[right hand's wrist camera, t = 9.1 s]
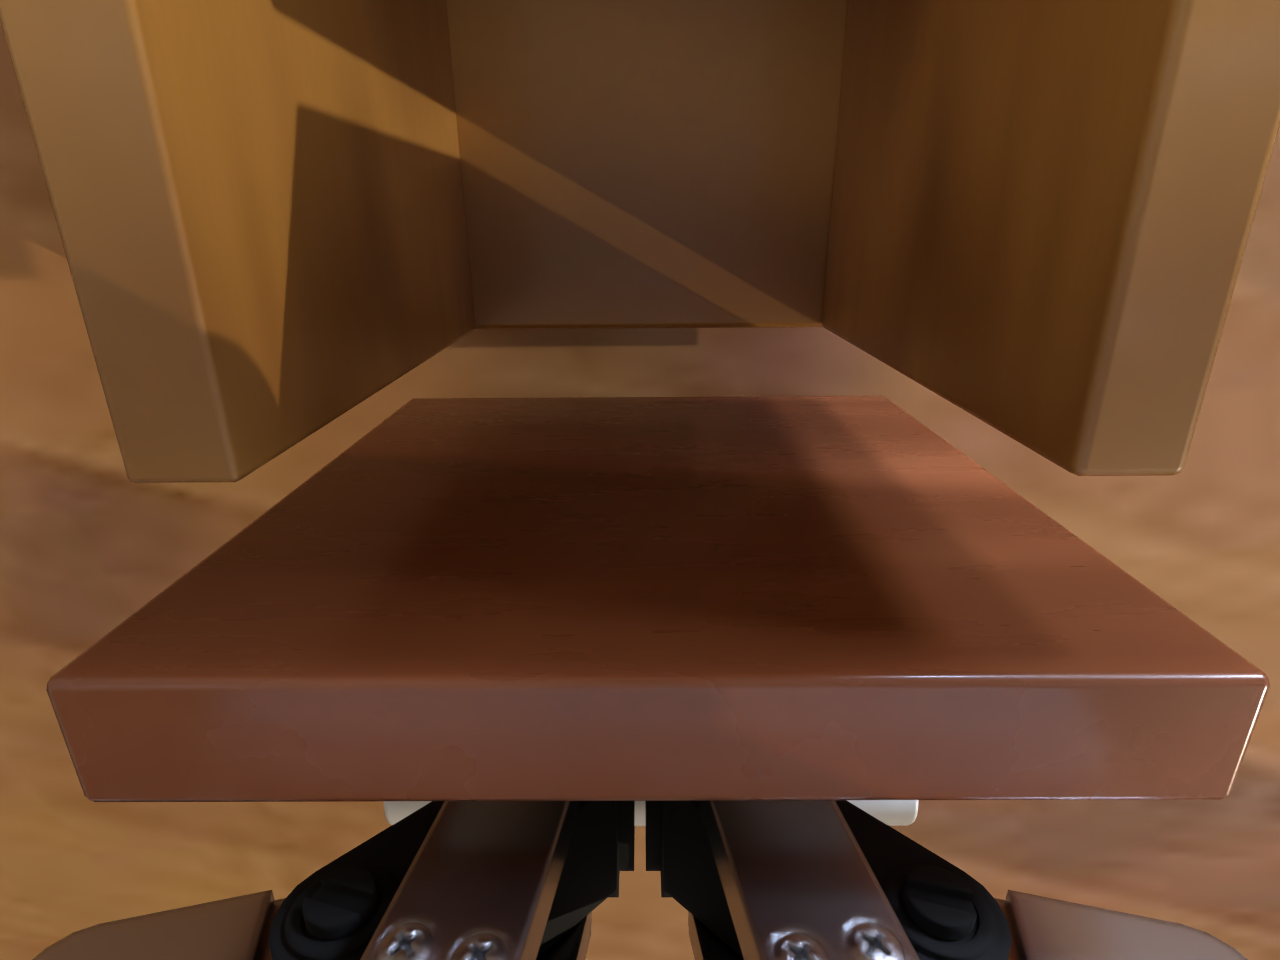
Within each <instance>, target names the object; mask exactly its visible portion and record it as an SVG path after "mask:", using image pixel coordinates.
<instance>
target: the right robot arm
mask: <svg viewBox="0 0 1280 960" xmlns="http://www.w3.org/2000/svg"><path fill="white" fill-rule="evenodd" d="M645 815H646V871H661V896H662V897H673V898H674V899H675V900H676V901H677V902H679V903H680V904H681V905H682V906H683V907H684V908H685V909H687V910H688V924H689V936H690V940H691V944H692V949H693V953H694V958H695V960H1247V959H1246V958H1245V957H1244V956H1243V955H1242V954H1240V953H1239V952H1238V951H1237V950H1236V949H1234V948H1233V947H1231V946H1229V945H1228V944H1226V943H1224V942H1222V941H1221V940H1219V939H1217V938H1215V937H1214V936H1212V935H1210V934H1208V933H1206V932H1203V931H1200V930H1197V929H1194V928H1191V927H1188V926H1185V925H1182V924H1178V923H1173V922H1168V921H1163V920H1158V919H1153V918H1148V917H1143V916H1138V915H1133V914H1128V913H1123V912H1118V911H1112V910H1107V909H1102V908H1097V907H1092V906H1087V905H1082V904H1077V903H1072V902H1067V901H1062V900H1057V899H1052V898H1047V897H1042V896H1037V895H1032V894H1026V893H1021V892H1016V891H1011V890H1008V892H1007V896H1006V900H1001V899H996V898H993V897H992V895H991V894H990V893H989V892H988V891H987V890H986V889H985V888H984V886H983V885H981V884H980V883H979V882H977V881H976V880H975V879H973V878H972V877H971V876H969V875H968V874H967V873H965V872H964V871H962V870H961V869H959V868H957V867H956V866H954V865H952V864H951V863H949V862H947V861H946V860H944V859H942V858H941V857H939V856H937V855H936V854H934V853H933V852H931V851H929V850H928V849H926V848H924V847H923V846H921V845H919V844H918V843H916V842H914V841H913V840H911V839H909V838H908V837H906V836H904V835H903V834H901V833H900V832H898V831H896V830H895V829H893V828H891V827H890V826H888V825H886V824H885V823H883V822H881V821H880V820H878V819H876V818H875V817H873V816H871V815H870V814H868V813H867V812H865V811H863V810H862V809H860V808H858V807H857V806H855V805H853V804H852V803H850V802H848V801H847V800H708V801H645ZM634 820H635V801H432V802H430V803H428V804H427V805H425V806H423V807H422V808H420V809H418V810H417V811H415V812H414V813H412V814H410V815H409V816H407V817H405V818H404V819H402V820H400V821H399V822H397V823H395V824H394V825H392V826H390V827H389V828H387V829H385V830H384V831H382V832H381V833H379V834H377V835H376V836H374V837H372V838H371V839H369V840H367V841H366V842H364V843H362V844H361V845H359V846H357V847H356V848H354V849H352V850H351V851H349V852H348V853H346V854H344V855H343V856H341V857H339V858H338V859H336V860H334V861H333V862H331V863H329V864H328V865H326V866H324V867H323V868H321V869H319V870H318V871H316V872H315V873H313V874H312V875H311V876H309V877H308V878H307V879H305V880H304V881H303V882H301V883H300V884H299V885H297V886H296V888H295V889H294V890H293V891H292V892H291V893H290V894H289V896H288V897H287V898H284V899H279V900H274V896H273V892H272V890H269V891H264V892H259V893H254V894H249V895H243V896H238V897H233V898H228V899H223V900H218V901H213V902H208V903H203V904H198V905H193V906H188V907H183V908H178V909H173V910H168V911H162V912H157V913H152V914H147V915H142V916H137V917H132V918H127V919H122V920H117V921H112V922H107V923H102V924H98V925H95V926H92V927H89V928H86V929H83V930H80V931H77V932H74V933H72V934H70V935H68V936H66V937H65V938H63V939H61V940H59V941H58V942H56V943H54V944H52V945H51V946H49V947H47V948H46V949H44V950H43V951H42V952H41V953H40V954H39V955H37V956H36V957H35V958H34V959H33V960H585V958H586V953H587V949H588V944H589V940H590V936H591V924H592V910H593V909H595V908H596V907H597V906H598V905H599V904H600V903H602V902H603V901H604V900H605V899H606V898H607V897H619V871H634Z"/></svg>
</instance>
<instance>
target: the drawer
mask: <svg viewBox="0 0 1280 960" xmlns="http://www.w3.org/2000/svg"><path fill="white" fill-rule="evenodd" d="M0 19H1V23H2V27H3V30H4V34H5V37H6V41H7V45H8V48H9V52H10V55H11V59H12V63H13V66H14V70H15V73H16V77H17V81H18V84H19V88H20V91H21V95H22V99H23V102H24V106H25V109H26V113H27V117H28V120H29V124H30V127H31V131H32V134H33V138H34V142H35V145H36V149H37V152H38V156H39V160H40V163H41V167H42V170H43V174H44V178H45V181H46V185H47V188H48V192H49V196H50V199H51V203H52V206H53V210H54V214H55V217H56V221H57V224H58V228H59V232H60V235H61V239H62V242H63V246H64V249H65V253H66V257H67V260H68V264H69V267H70V271H71V275H72V278H73V282H74V285H75V289H76V293H77V296H78V300H79V303H80V307H81V311H82V314H83V318H84V321H85V325H86V329H87V332H88V336H89V339H90V343H91V347H92V350H93V354H94V357H95V361H96V365H97V368H98V372H99V375H100V379H101V382H102V386H103V390H104V393H105V397H106V400H107V404H108V408H109V411H110V415H111V418H112V422H113V426H114V429H115V433H116V436H117V440H118V444H119V447H120V451H121V454H122V458H123V462H124V465H125V469H126V472H127V476H128V478H129V479H130V481H132V482H138V483H150V482H236V481H239V480H240V479H242V478H244V477H245V476H247V475H248V474H250V473H251V472H253V471H254V470H256V469H258V468H259V467H261V466H262V465H264V464H265V463H267V462H269V461H270V460H272V459H273V458H275V457H276V456H278V455H279V454H281V453H283V452H284V451H286V450H287V449H289V448H290V447H292V446H293V445H295V444H297V443H298V442H300V441H301V440H303V439H304V438H306V437H307V436H309V435H311V434H312V433H314V432H315V431H317V430H318V429H320V428H321V427H323V426H325V425H326V424H328V423H329V422H331V421H332V420H334V419H335V418H337V417H339V416H340V415H342V414H343V413H345V412H346V411H348V410H349V409H351V408H353V407H354V406H356V405H357V404H359V403H360V402H362V401H363V400H365V399H367V398H368V397H370V396H371V395H373V394H374V393H376V392H378V391H379V390H381V389H382V388H384V387H385V386H387V385H388V384H390V383H392V382H393V381H395V380H396V379H398V378H399V377H401V376H402V375H404V374H406V373H407V372H409V371H410V370H412V369H413V368H415V367H416V366H418V365H420V364H421V363H423V362H424V361H426V360H427V359H429V358H430V357H432V356H434V355H435V354H437V353H438V352H440V351H441V350H443V349H444V348H446V347H448V346H449V345H451V344H452V343H454V342H455V341H457V340H458V339H460V338H462V337H463V336H465V335H466V334H468V333H469V332H471V331H472V330H474V329H584V328H736V327H824V328H826V329H828V330H829V331H831V332H833V333H834V334H836V335H838V336H839V337H841V338H843V339H845V340H846V341H848V342H850V343H851V344H853V345H855V346H856V347H858V348H860V349H862V350H863V351H865V352H867V353H868V354H870V355H872V356H873V357H875V358H877V359H879V360H880V361H882V362H884V363H885V364H887V365H889V366H890V367H892V368H894V369H896V370H897V371H899V372H901V373H902V374H904V375H906V376H907V377H909V378H911V379H913V380H914V381H916V382H918V383H919V384H921V385H923V386H924V387H926V388H928V389H930V390H931V391H933V392H935V393H936V394H938V395H940V396H941V397H943V398H945V399H947V400H948V401H950V402H952V403H953V404H955V405H957V406H958V407H960V408H962V409H964V410H965V411H967V412H969V413H970V414H972V415H974V416H975V417H977V418H979V419H981V420H982V421H984V422H986V423H987V424H989V425H991V426H992V427H994V428H996V429H998V430H999V431H1001V432H1003V433H1004V434H1006V435H1008V436H1009V437H1011V438H1013V439H1014V440H1016V441H1018V442H1020V443H1021V444H1023V445H1025V446H1026V447H1028V448H1030V449H1031V450H1033V451H1035V452H1037V453H1038V454H1040V455H1042V456H1043V457H1045V458H1047V459H1048V460H1050V461H1052V462H1054V463H1055V464H1057V465H1059V466H1060V467H1062V468H1064V469H1065V470H1067V471H1069V472H1071V473H1073V474H1075V475H1078V476H1160V475H1175V474H1178V473H1180V472H1181V470H1182V469H1183V468H1184V466H1185V463H1186V459H1187V456H1188V452H1189V448H1190V445H1191V441H1192V438H1193V434H1194V430H1195V427H1196V423H1197V420H1198V416H1199V412H1200V409H1201V405H1202V402H1203V398H1204V395H1205V391H1206V387H1207V384H1208V380H1209V377H1210V373H1211V369H1212V366H1213V362H1214V359H1215V355H1216V351H1217V348H1218V344H1219V341H1220V337H1221V334H1222V330H1223V326H1224V323H1225V319H1226V316H1227V312H1228V308H1229V305H1230V301H1231V298H1232V294H1233V290H1234V287H1235V283H1236V280H1237V276H1238V272H1239V269H1240V265H1241V262H1242V258H1243V255H1244V251H1245V247H1246V244H1247V240H1248V237H1249V233H1250V229H1251V226H1252V222H1253V219H1254V215H1255V211H1256V208H1257V204H1258V201H1259V197H1260V194H1261V190H1262V186H1263V183H1264V179H1265V176H1266V172H1267V168H1268V165H1269V161H1270V158H1271V154H1272V150H1273V147H1274V143H1275V140H1276V136H1277V133H1278V129H1279V125H1280V0H0ZM1269 687H1270V684H1269V678H1268V677H1267V676H1266V674H1265V673H1264V672H1262V671H1261V670H1260V669H1258V668H1257V667H1255V666H1254V665H1253V664H1251V663H1250V662H1249V661H1247V660H1246V659H1244V658H1243V657H1242V656H1240V655H1239V654H1238V653H1236V652H1235V651H1233V650H1232V649H1231V648H1229V647H1228V646H1227V645H1225V644H1224V643H1222V642H1221V641H1220V640H1218V639H1217V638H1216V637H1214V636H1213V635H1211V634H1210V633H1209V632H1207V631H1206V630H1205V629H1203V628H1202V627H1200V626H1199V625H1198V624H1196V623H1195V622H1194V621H1192V620H1191V619H1189V618H1188V617H1187V616H1185V615H1184V614H1183V613H1181V612H1180V611H1178V610H1177V609H1176V608H1174V607H1173V606H1172V605H1170V604H1169V603H1167V602H1166V601H1165V600H1163V599H1162V598H1161V597H1159V596H1158V595H1156V594H1155V593H1154V592H1152V591H1151V590H1150V589H1148V588H1147V587H1145V586H1144V585H1143V584H1141V583H1140V582H1139V581H1137V580H1136V579H1134V578H1133V577H1132V576H1130V575H1129V574H1128V573H1126V572H1125V571H1123V570H1122V569H1121V568H1119V567H1118V566H1117V565H1115V564H1114V563H1112V562H1111V561H1110V560H1108V559H1107V558H1106V557H1104V556H1103V555H1101V554H1100V553H1099V552H1097V551H1096V550H1095V549H1093V548H1092V547H1090V546H1089V545H1088V544H1086V543H1085V542H1084V541H1082V540H1081V539H1079V538H1078V537H1077V536H1075V535H1074V534H1073V533H1071V532H1070V531H1068V530H1067V529H1066V528H1064V527H1063V526H1062V525H1060V524H1059V523H1058V522H1056V521H1055V520H1053V519H1052V518H1051V517H1049V516H1048V515H1047V514H1045V513H1044V512H1042V511H1041V510H1040V509H1038V508H1037V507H1036V506H1034V505H1033V504H1031V503H1030V502H1029V501H1027V500H1026V499H1025V498H1023V497H1022V496H1020V495H1019V494H1018V493H1016V492H1015V491H1014V490H1012V489H1011V488H1009V487H1008V486H1007V485H1005V484H1004V483H1003V482H1001V481H1000V480H998V479H997V478H996V477H994V476H993V475H992V474H990V473H989V472H987V471H986V470H985V469H983V468H982V467H981V466H979V465H978V464H976V463H975V462H974V461H972V460H971V459H970V458H968V457H967V456H965V455H964V454H963V453H961V452H960V451H959V450H957V449H956V448H954V447H953V446H952V445H950V444H949V443H948V442H946V441H945V440H943V439H942V438H941V437H939V436H938V435H937V434H935V433H934V432H932V431H931V430H930V429H928V428H927V427H926V426H924V425H923V424H921V423H920V422H919V421H917V420H916V419H915V418H913V417H912V416H910V415H909V414H908V413H906V412H905V411H904V410H902V409H901V408H899V407H898V406H897V405H895V404H894V403H893V402H891V401H890V400H888V399H887V398H886V397H884V396H787V397H620V398H452V399H412V400H410V401H409V402H408V403H406V404H405V405H404V406H403V407H401V408H400V409H399V410H397V411H396V412H395V413H393V414H392V415H391V416H390V417H388V418H387V419H386V420H384V421H383V422H382V423H380V424H379V425H378V426H377V427H375V428H374V429H373V430H371V431H370V432H369V433H368V434H366V435H365V436H364V437H362V438H361V439H360V440H358V441H357V442H356V443H355V444H353V445H352V446H351V447H349V448H348V449H347V450H345V451H344V452H343V453H342V454H340V455H339V456H338V457H336V458H335V459H334V460H333V461H331V462H330V463H329V464H327V465H326V466H325V467H323V468H322V469H321V470H320V471H318V472H317V473H316V474H314V475H313V476H312V477H310V478H309V479H308V480H307V481H305V482H304V483H303V484H301V485H300V486H299V487H298V488H296V489H295V490H294V491H292V492H291V493H290V494H288V495H287V496H286V497H285V498H283V499H282V500H281V501H279V502H278V503H277V504H275V505H274V506H273V507H272V508H270V509H269V510H268V511H266V512H265V513H264V514H263V515H261V516H260V517H259V518H257V519H256V520H255V521H253V522H252V523H251V524H250V525H248V526H247V527H246V528H244V529H243V530H242V531H240V532H239V533H238V534H237V535H235V536H234V537H233V538H231V539H230V540H229V541H228V542H226V543H225V544H224V545H222V546H221V547H220V548H218V549H217V550H216V551H215V552H213V553H212V554H211V555H209V556H208V557H207V558H205V559H204V560H203V561H202V562H200V563H199V564H198V565H196V566H195V567H194V568H193V569H191V570H190V571H189V572H187V573H186V574H185V575H183V576H182V577H181V578H180V579H178V580H177V581H176V582H174V583H173V584H172V585H170V586H169V587H168V588H167V589H165V590H164V591H163V592H161V593H160V594H159V595H158V596H156V597H155V598H154V599H152V600H151V601H150V602H148V603H147V604H146V605H145V606H143V607H142V608H141V609H139V610H138V611H137V612H135V613H134V614H133V615H132V616H130V617H129V618H128V619H126V620H125V621H124V622H123V623H121V624H120V625H119V626H117V627H116V628H115V629H113V630H112V631H111V632H110V633H108V634H107V635H106V636H104V637H103V638H102V639H100V640H99V641H98V642H97V643H95V644H94V645H93V646H91V647H90V648H89V649H88V650H86V651H85V652H84V653H82V654H81V655H80V656H78V657H77V658H76V659H75V660H73V661H72V662H71V663H69V664H68V665H67V666H65V667H64V668H63V669H62V670H60V671H59V672H58V673H56V674H55V675H54V676H53V677H51V678H50V680H49V681H48V683H47V693H48V695H49V698H50V701H51V704H52V706H53V709H54V712H55V715H56V717H57V720H58V723H59V726H60V728H61V731H62V734H63V737H64V740H65V742H66V745H67V748H68V751H69V753H70V756H71V759H72V762H73V764H74V767H75V770H76V773H77V775H78V778H79V781H80V784H81V787H82V789H83V792H84V795H85V796H86V797H87V798H88V799H89V800H91V801H94V802H278V801H384V811H385V816H386V820H387V822H388V823H389V824H391V825H394V824H395V823H397V822H399V821H400V820H402V819H404V818H405V817H407V816H409V815H410V814H412V813H414V812H415V811H417V810H418V809H420V808H422V807H423V806H425V805H427V804H428V803H430V802H432V801H635V820H634V826H646V815H645V801H708V800H847V801H848V802H850V803H852V804H853V805H855V806H857V807H858V808H860V809H862V810H863V811H865V812H867V813H868V814H870V815H871V816H873V817H875V818H876V819H878V820H880V821H881V822H883V823H885V824H886V825H909V824H911V823H913V822H914V821H915V819H916V816H917V812H918V800H1138V799H1222V798H1225V797H1227V796H1228V795H1229V794H1230V793H1231V791H1232V788H1233V785H1234V782H1235V780H1236V777H1237V774H1238V771H1239V769H1240V766H1241V763H1242V761H1243V758H1244V755H1245V752H1246V750H1247V747H1248V744H1249V741H1250V739H1251V736H1252V733H1253V730H1254V728H1255V725H1256V722H1257V720H1258V717H1259V714H1260V711H1261V709H1262V706H1263V703H1264V700H1265V698H1266V695H1267V692H1268V689H1269Z"/></svg>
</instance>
